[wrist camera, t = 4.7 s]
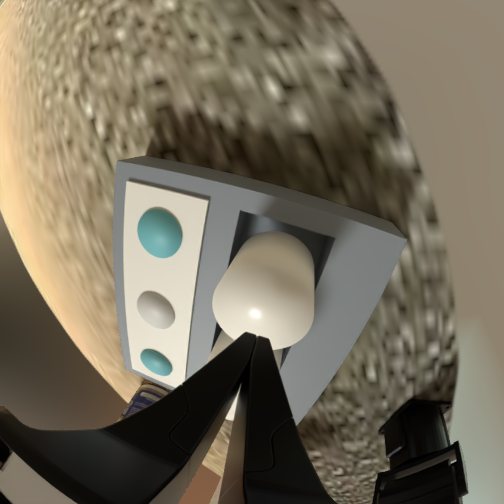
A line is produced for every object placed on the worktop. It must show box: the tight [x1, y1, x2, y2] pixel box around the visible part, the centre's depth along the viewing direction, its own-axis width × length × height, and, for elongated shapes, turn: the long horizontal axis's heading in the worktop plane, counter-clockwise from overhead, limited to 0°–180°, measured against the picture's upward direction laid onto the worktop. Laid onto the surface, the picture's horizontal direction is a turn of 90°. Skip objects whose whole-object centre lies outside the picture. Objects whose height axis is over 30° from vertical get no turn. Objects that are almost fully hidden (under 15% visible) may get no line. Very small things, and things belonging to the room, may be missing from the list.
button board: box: [113, 156, 407, 426], centre depth 18 cm, size 16×18×3 cm
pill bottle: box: [117, 384, 168, 422], centre depth 23 cm, size 5×5×10 cm
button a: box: [212, 231, 314, 350], centre depth 12 cm, size 4×4×4 cm
